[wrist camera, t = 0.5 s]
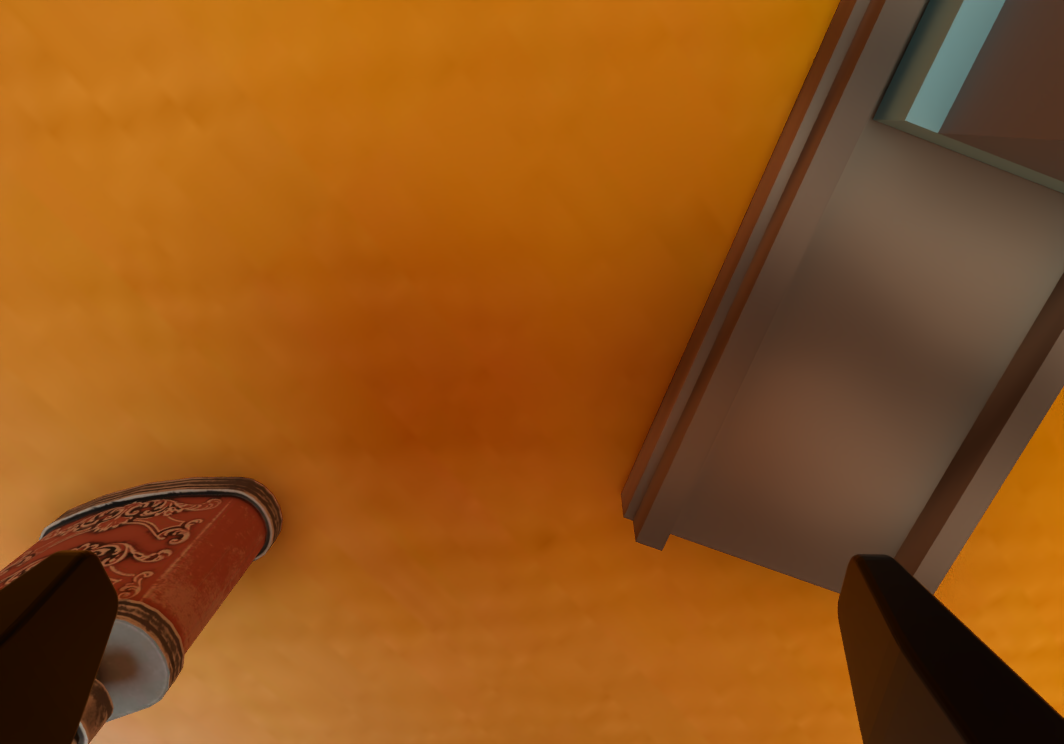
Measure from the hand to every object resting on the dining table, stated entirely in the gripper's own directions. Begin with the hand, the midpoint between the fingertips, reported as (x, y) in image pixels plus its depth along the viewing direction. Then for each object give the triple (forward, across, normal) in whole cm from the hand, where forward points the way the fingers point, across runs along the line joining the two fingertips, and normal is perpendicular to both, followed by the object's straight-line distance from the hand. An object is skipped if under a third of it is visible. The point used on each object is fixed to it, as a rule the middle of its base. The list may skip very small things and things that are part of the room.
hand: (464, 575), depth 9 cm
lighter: (+12, +12, +11) cm, 21 cm away
